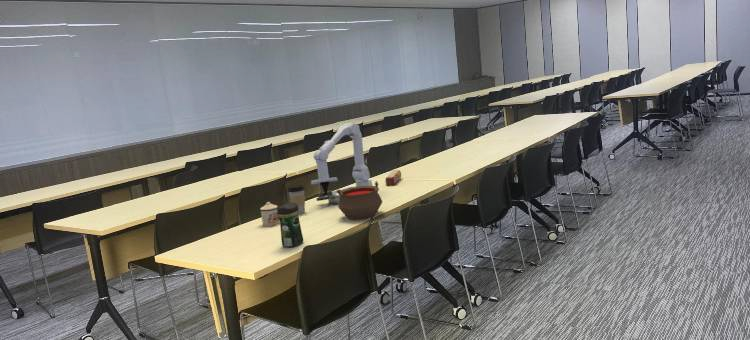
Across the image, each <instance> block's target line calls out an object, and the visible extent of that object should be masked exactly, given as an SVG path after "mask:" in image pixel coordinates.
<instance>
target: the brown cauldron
mask: <svg viewBox="0 0 750 340" xmlns="http://www.w3.org/2000/svg"><path fill="white" fill-rule="evenodd" d="M337 190H338V191H337V192H338V194H339V195H340V198H339V202H338V205H337V208H338V209H339V210H340V211H341V212H342V214H343V215H344V216H345V217H346V218H347V219H348V220H353V221H362V220H367V219H368V220H369V219H371V218H373V217H375V216H376V215H377V213H378V212H379V209H380V208H381V206H382V204H383V200H382V198H381V196H380V195H379V191H380V188H379V183H378V181H377V180H375V182H374V185H372V186H367V185H365V186H357V187H356V186H351V187H345V188H344V189H339V188H337Z"/></svg>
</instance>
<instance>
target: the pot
mask: <svg viewBox="0 0 750 340" xmlns="http://www.w3.org/2000/svg"><path fill="white" fill-rule="evenodd" d="M339 198H340V197H328V196H324V197H318V196H317V197H316V198H315V199H316V201H317V202H318V201H326V200H327V201H328V205H330V206H331V205H332V206H335V205H337V206H338V202H339Z"/></svg>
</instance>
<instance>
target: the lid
mask: <svg viewBox="0 0 750 340" xmlns="http://www.w3.org/2000/svg"><path fill="white" fill-rule="evenodd" d="M337 191H338V189H337V190H327V196H328V197H340V195H339V194H338V192H337ZM324 196H326V195H325V192H324V191H323V192H317V198H318V197H324Z"/></svg>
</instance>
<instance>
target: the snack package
mask: <svg viewBox="0 0 750 340" xmlns="http://www.w3.org/2000/svg"><path fill="white" fill-rule="evenodd" d="M401 178H402V172H401V170H399V169H393V170H391V172H390V173H389V174H388V175H387V176H386V177H385V186H386V187H393V186H396V184H397V183H398V182H399V180H401Z"/></svg>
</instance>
